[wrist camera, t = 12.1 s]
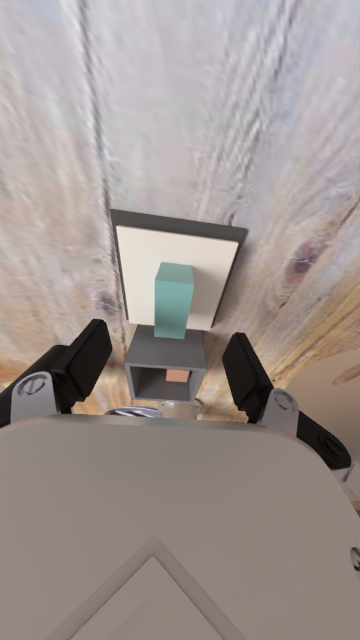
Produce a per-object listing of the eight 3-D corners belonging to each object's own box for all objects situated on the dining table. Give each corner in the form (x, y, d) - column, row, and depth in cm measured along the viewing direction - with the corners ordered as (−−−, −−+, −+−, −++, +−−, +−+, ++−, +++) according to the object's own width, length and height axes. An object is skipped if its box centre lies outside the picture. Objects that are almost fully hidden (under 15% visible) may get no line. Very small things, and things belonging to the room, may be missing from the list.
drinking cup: (71, 337, 24) (-139, 583, 8) (95, 363, 29) (-10, 552, 13) (32, 341, 25) (-231, 575, 9) (61, 366, 29) (-77, 548, 14)
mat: (211, 326, 22) (212, 327, 22) (127, 318, 21) (126, 319, 21) (245, 228, 14) (246, 228, 14) (111, 209, 13) (110, 209, 13)
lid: (207, 322, 21) (215, 357, 16) (132, 315, 20) (117, 349, 15) (233, 239, 14) (260, 256, 9) (122, 224, 14) (89, 233, 9)
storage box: (190, 365, 29) (193, 402, 23) (141, 362, 28) (131, 399, 23) (201, 329, 23) (207, 368, 17) (137, 324, 22) (123, 362, 16)
